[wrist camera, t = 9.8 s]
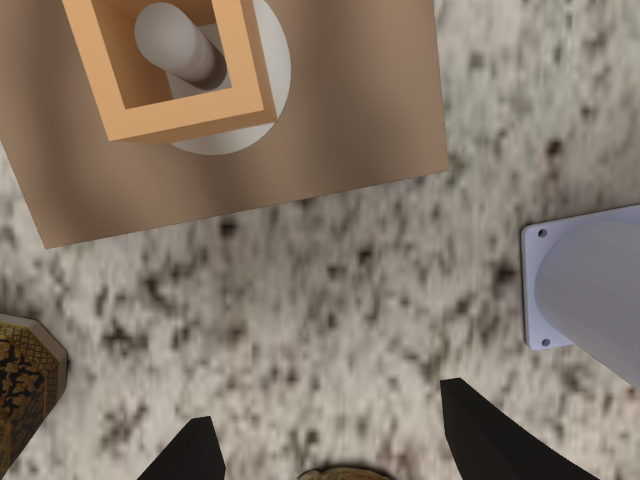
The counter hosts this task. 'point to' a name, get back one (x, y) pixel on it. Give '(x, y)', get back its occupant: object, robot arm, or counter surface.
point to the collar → (151, 81)
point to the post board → (230, 147)
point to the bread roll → (342, 474)
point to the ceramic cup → (26, 382)
